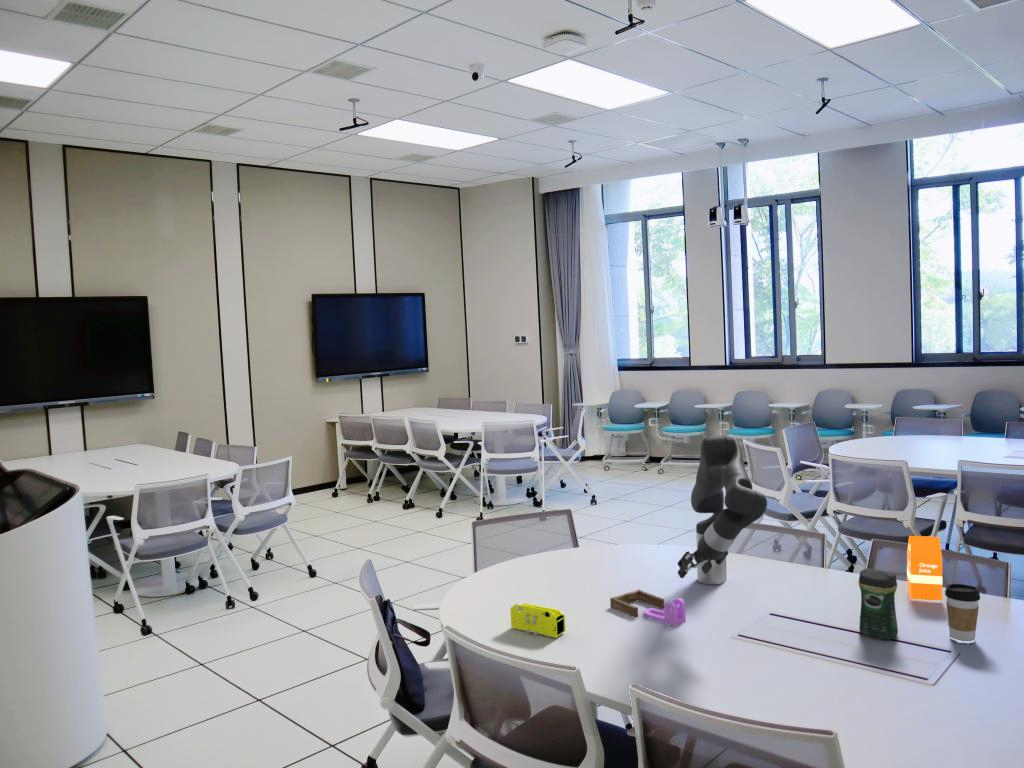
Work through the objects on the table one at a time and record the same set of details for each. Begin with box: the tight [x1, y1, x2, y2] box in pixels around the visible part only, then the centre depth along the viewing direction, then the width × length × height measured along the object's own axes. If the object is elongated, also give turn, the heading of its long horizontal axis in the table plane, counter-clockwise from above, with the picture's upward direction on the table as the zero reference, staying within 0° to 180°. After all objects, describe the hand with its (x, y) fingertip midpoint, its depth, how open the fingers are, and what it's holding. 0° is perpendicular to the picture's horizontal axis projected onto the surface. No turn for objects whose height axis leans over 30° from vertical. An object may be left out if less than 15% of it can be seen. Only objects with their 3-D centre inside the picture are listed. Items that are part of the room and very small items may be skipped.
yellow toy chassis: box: [510, 603, 566, 638], centre depth 230 cm, size 16×6×8 cm, turn 56°
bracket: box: [643, 597, 687, 627], centre depth 237 cm, size 13×6×7 cm, turn 43°
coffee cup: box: [944, 583, 981, 641], centre depth 212 cm, size 8×8×15 cm
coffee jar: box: [858, 567, 899, 641], centre depth 218 cm, size 10×8×19 cm
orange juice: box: [906, 535, 943, 601], centre depth 244 cm, size 8×9×20 cm
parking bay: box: [609, 589, 665, 618], centre depth 246 cm, size 12×12×3 cm
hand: (692, 573), depth 221 cm, fingers open, 8 cm apart
